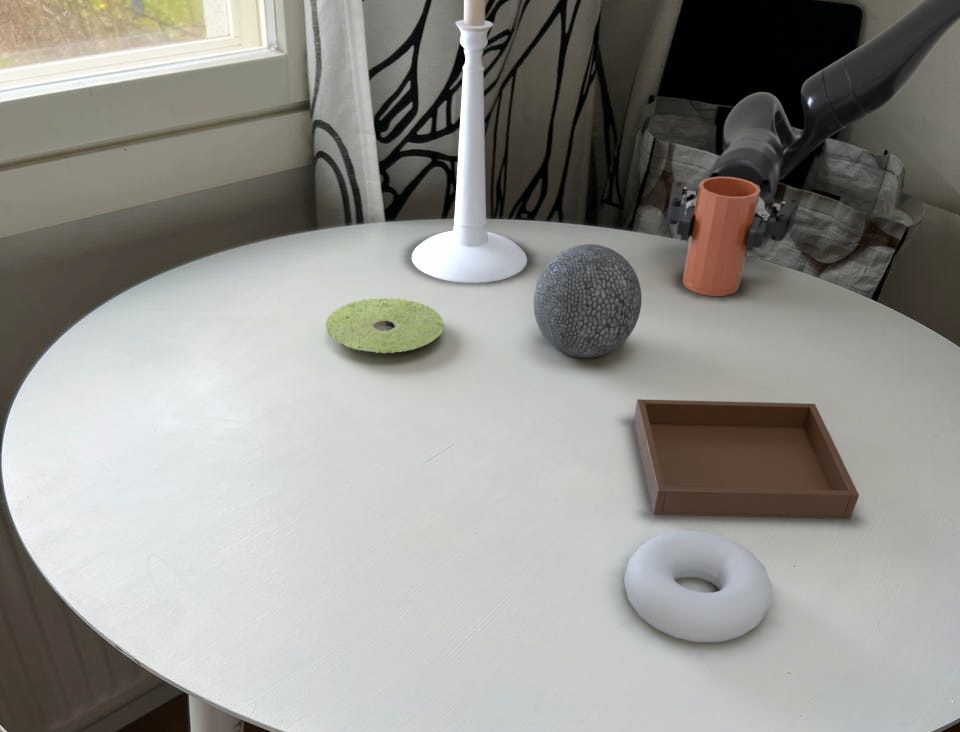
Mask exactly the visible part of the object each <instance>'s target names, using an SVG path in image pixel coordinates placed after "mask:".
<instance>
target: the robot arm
mask: <svg viewBox="0 0 960 732" xmlns="http://www.w3.org/2000/svg"><path fill="white" fill-rule="evenodd" d="M959 21H960V0H921V1H920V2H919V3H917V5H915V6H913V8H912V9H911V10H909V11H908V12H906V13H905V14H904V15H903V16H901V17H900V18H899V19H898V20H896V21H895V22H893V24H891V25H890V26H889V27H887V28H886V29H884V30H882V31H881V32H880V33H879V34H877V35H875V36H874V37H872V38H871V39H869V40H868V41H866V42H865V43H864V44H862V45H860V46H859V47H857V48H855V49H853V50H852V51H850V52H849V53H847V54H846V55H844V56H842V57H841V58H839V59H837V60H835V61H834V62H832V63H831V64H829V65H827V66H826V67H824V68H823V69H821V70H819V71H817V72H816V73H815V74H813V75H812V76H810V77H809V78H807V79H806V80H805V81H804V82H803V84H802V86H801V89H800V100H801V106H802V111H803V117H804V128H803V130H801V132H800V133H798V134H797V135H796V134H795V133H794V130H793V127H792V125H791V123H790V121H789V119H788V116H787V114H786V113H785V110H784V107H783V105H782V103H781V102H780V100H779V99H778V98H777V96H775V95H774V94H772V93H770V92H765V91H758V92H755V93H751V94H750V95H747V96H745V97H744V98H743V99H741V100H740V101H739V102H737V104H736V105H735V106H734V107H733V108H732V109H731V110H730V112H729V113H728V115H727V117H726V119H725V121H724V124H723V127H722V133H721V134H722V136H721V137H722V150H723V152H722V153H721V155H720V156H719V157H718V159H717V160H716V162H715V164H714V165H713V167H712V170H711V171H710V173H709V175H708V176H707V178H712V177H734V178H740V179H744V180H747V181H750V182H752V183H754V184H756V185H757V186H758V187H759V188H760V195H759V199H758V204H757V208H756V213H755V217H754V221H753V223H752V225H751V228H750V231H749V235H748V240H747V244H746V249H745V250H747V252H753V250H754V248H760V247H761V246H762V244H763V242H764V240H766V237H769V236H770V239H771V240H772V241H775V242H782V241H783V240H784V239H785V237H786V236H787V234H788V233H789V232H790V230H792V228H793V226H794V225H795V222H796V218H797V213H798V209H799V206H800V200H799V199H797V198H794V197H792V198H788V199H787V200H786V201H784V200H783V201H781V202H780V203H777V202H775V199H774V197H775V195H776V192H777V187H778V184H779V182H780V181H782V180H783V179H784V178H785V177H786V176H788V175H789V174H790V173H791V172H792V171H793V170H794V169H795V168H796V167H797V166H798V165H799V164H800V163H801V162H802V161H803V160H804V159H805V158H806V157H807V156H808V155H809V154H810V153H811V152H813V151H814V150H815V149H816V148H817V147H819V146H820V145H821V144H822V143H824V142H825V141H827V140H828V139H829V138H830V137H832V136H833V135H835V134H837V133H838V132H840V131H842V130H843V129H845V128H846V127H848V126H850V125H852V124H854V123H856V122H857V121H859V120H861V119H862V118H864V117H866V116H868V115H870V114H872V113H873V112H875V111H877V110H878V109H880V108H881V107H883V106H885V105H886V104H888V103H889V102H891V100H893V98H895V97H896V96H897V95H898V94H899V93H900V92H901V91H902V90H903V89H904V88H905V86H907V84H908V83H909V82H910V81H911V79H912V78H913V76H914V75H915V74H916V73H917V71H918V70H919V69H920V67H921V66H922V64H923V63H924V62H925V60H927V58H928V57H929V55H930V54H931V52H932V51H933V50H934V48H935V47H936V46H937V45H938V43H939V42H940V41H941V40H942V38H944V37H945V35H946V34H947V33H948V32H949V31H950V30H951V29H952V28H953V27H954V26H955V25H956V24H958V22H959ZM697 193H698V188H697V189H696V190H689V187H687V186H685V183H684V182H682V181H674V182H672V186H671V191H670V196H669V200H668V207H667V215H666V224H669V225H676V231H675V232H676V235H677V236H680V240H681V241H686V242H689V239H690V233H691V228H692V222H693V217H694V210H695V205H696V199H697ZM771 216H773V217H771Z"/></svg>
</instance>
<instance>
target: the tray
mask: <svg viewBox="0 0 960 732" xmlns="http://www.w3.org/2000/svg"><path fill="white" fill-rule="evenodd" d="M634 411H635V412H634V418H633V426H634V431H635V436H636V440H637V445H638V449H639V454H640V459H641V463H642V468H643V473H644V477H645V482H646V486H647V487H646V488H647V491H648V495H649V500H650V504H651V505H650V506H651V510H652V514H653V515H654V516H688V517H691V516H692V517H693V516H694V517H730V518H731V517H733V518H734V517H735V518H738V517H739V518H778V519H779V518H781V519H819V520H820V519H821V520H823V519H825V520H827V519H828V520H851V518H852V515H853V514H854V513H853V512H854V510H855V507H856V504H857V502H858V499H859V497H860V494H859V492H858V490H857V488H856V485H855V483H854V482H853V480H852V478H851V476H850V473H849V471H848V469H847V467H846V465H845V463H844V461H843V459H842V457H841V455H840V452H839V451H838V448H837V446H836V445H835V443H834V440H833V438H832V436H831V434H830V431H829V430H828V428H827V426H826V424H825V422H824V420H823V418H822V416H821V414H820V412H819V409H818V407H817V405H816V403H798V402H794V403H793V402H762V401H761V402H760V401H758V402H757V401H756V402H755V401H722V400H721V401H720V400H719V401H717V400H680V399H677V400H676V399H641V398H640V399H639V398H638V399H636V405H635V409H634Z"/></svg>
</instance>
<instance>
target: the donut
mask: <svg viewBox="0 0 960 732" xmlns="http://www.w3.org/2000/svg"><path fill="white" fill-rule="evenodd" d="M765 567H766V566H764V564H763V563H762V562H761V561H760V560H759V559H758V557H756V556H755V554H754V552H753V553H752V551H751V550H749V549H747V548H746V547H745V546H743V545H741V544H740V543H738V542H737V541H736V540H733V539H730V538H727V537H725V536H723V535H720V534H716V533H711V532H706V531H701V530H678V531H677V530H676V531H672V532H668V533H664V534H660V535H658V536H656V537H653V538H651V539H650V540H647V541H646V542H644V543H643V544H641V546H639V548H638V549H637V550H636V551H635V553H634V554H633V555H632V556H631V557H630V558H629V561H628V563H627V566H626V570H625V574H624V578H623V580H624V588H625V591H626V592H625V593H626V597H627V599H628V602H629V603H630V605H631V607H632V608H633V609H634V611H635V613H636V614H637V615H638V616H639V618H641V619H642V620H643V621H645V622H646V623H647V624H648V625H649V626H651V627H653V628H654V629H655V630H657V631H659V632H662V633H664V634H666V635H668V636H671V637H673V638H674V639H679V640H682V641H689V642H694V643H723V642H726V641H730V640H734V639H737V638H741V637H742V636H743V635H745V634H747V633H749V632H750V631H751V630H753V629H755V628H756V627H758V626H759V625H760V624H761V621H762V620H763V619H764V617H765V616H766V614H767V613H768V610H769V609H770V607H771V598H772V588H773V586H772V583H771V580H770V578H769V575H768V573H767V570H766V568H765ZM683 578H695V579H700V580H703V581H706V582H708V583H710V584H712V585H714V586H715V587H717V589H718V591H714V592H701V591H696V590H691V589H689V588H687V587H685V586H682V585H680V584H679V583H678V582H677V580H679V579H683Z"/></svg>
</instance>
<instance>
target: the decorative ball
mask: <svg viewBox="0 0 960 732" xmlns="http://www.w3.org/2000/svg"><path fill="white" fill-rule="evenodd" d="M641 308H642V289H641V283H640V281H639V278H638V275H637V273H636V271H635V269H634V268H633V266H632V265H631V263H630V262H629V261H628V260H627V259H626V258H625V257H624V256H623V255H621V254H620V253H619V252H617V251H615V250H613V249H612V248H610V247H607V246H604V245H600V244H594V243H593V244H592V243H585V244H579V245H575V246H572V247H569V248H567V249H565V250H563V251H561V252H559V253H558V254H557V255H556V256H554V257H553V258H552V259H550V261H549V262H548V263H547V264H546V265H545V266H544V268H543V270H542V272H541V273H540V275H539V277H538V278H537V282H536V285H535V289H534V294H533V314H534V318H535V322H536V325H537V327H538V329H539V331H540V333H541V335H542V336H543V338H544V339H545V340H546V341H547V342H548V343H549V345H551V346H552V347H553V348H554V349H556V350H557V351H559V352H561V353H562V354H564V355H567V356H570V357H573V358H577V359H578V358H579V359H592V358H598V357H601V356H605V355H607V354H609V353H610V352H611V353H612V352H613V351H614V350H616V349H617V348H619V347H620V346H621V345H622V344H623V343H625V341H627V339H628V338H629V337H630V335H631V334H632V332H633V331H634V329H635V328H636V325H637V323H638V320H639V317H640V314H641Z"/></svg>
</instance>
